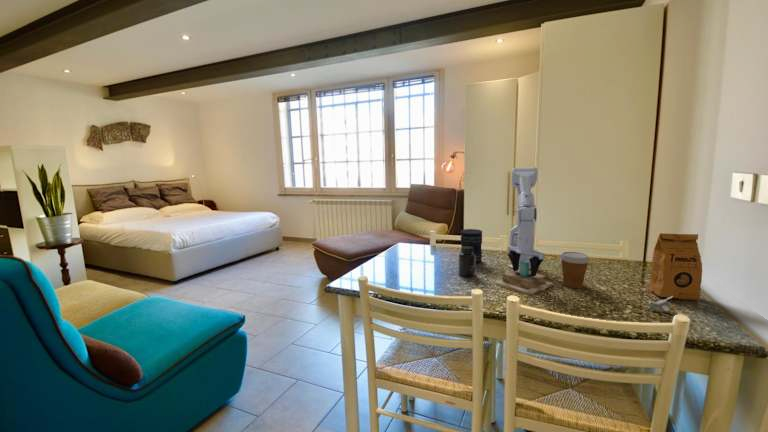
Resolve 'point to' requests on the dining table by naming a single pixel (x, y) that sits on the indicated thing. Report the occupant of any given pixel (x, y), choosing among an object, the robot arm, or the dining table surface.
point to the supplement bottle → (467, 262)
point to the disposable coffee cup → (574, 268)
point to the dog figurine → (660, 304)
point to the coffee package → (676, 267)
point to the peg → (524, 269)
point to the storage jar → (473, 242)
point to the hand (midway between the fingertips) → (524, 273)
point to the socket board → (521, 290)
